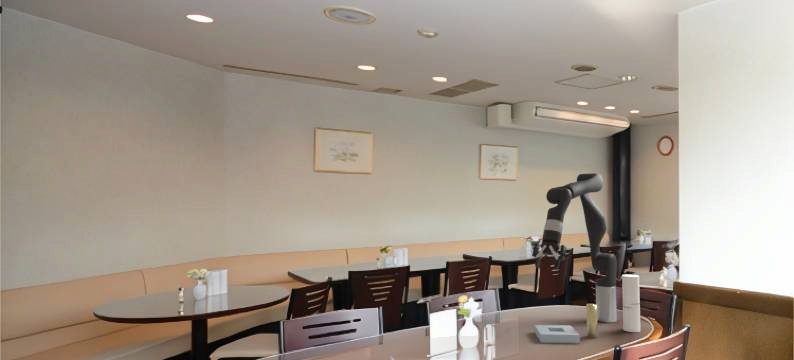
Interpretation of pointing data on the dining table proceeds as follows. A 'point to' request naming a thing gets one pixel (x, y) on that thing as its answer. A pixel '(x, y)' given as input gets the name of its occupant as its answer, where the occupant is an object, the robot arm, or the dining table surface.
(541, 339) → the jig
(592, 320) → the yellow tall cylinder
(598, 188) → the robot arm
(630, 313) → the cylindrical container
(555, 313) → the dining table surface
